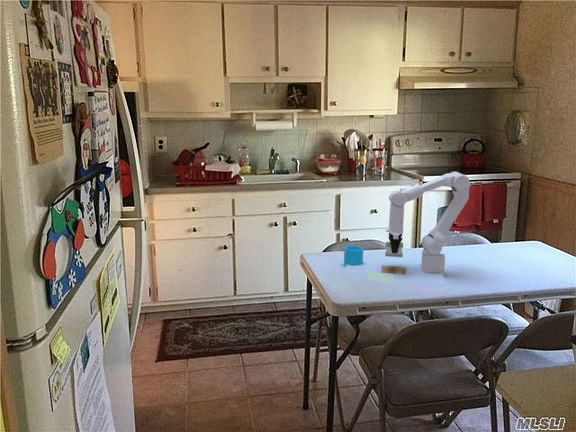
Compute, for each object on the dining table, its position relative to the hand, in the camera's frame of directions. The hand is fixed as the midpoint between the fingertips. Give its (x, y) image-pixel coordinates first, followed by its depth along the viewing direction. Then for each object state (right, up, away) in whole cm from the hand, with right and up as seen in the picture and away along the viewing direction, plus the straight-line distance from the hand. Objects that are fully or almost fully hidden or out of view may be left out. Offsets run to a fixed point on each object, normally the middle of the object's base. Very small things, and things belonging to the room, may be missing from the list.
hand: (394, 251), depth 216 cm
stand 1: (-7, -11, -8) cm, 15 cm away
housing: (0, -2, 0) cm, 2 cm away
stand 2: (0, -9, +2) cm, 9 cm away
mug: (-16, -7, +13) cm, 22 cm away
